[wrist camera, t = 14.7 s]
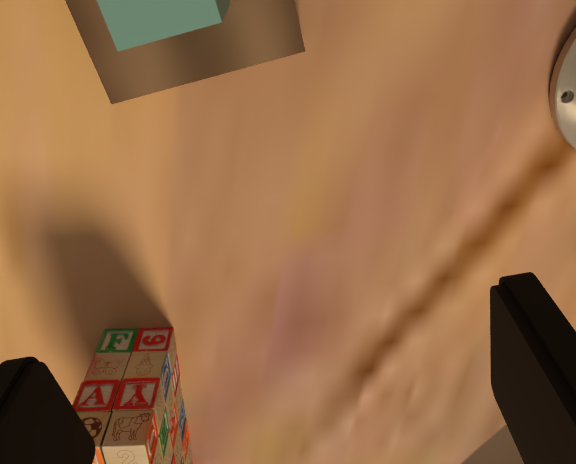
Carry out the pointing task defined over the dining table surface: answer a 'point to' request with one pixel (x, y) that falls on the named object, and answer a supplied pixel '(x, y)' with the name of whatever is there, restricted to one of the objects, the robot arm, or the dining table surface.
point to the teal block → (158, 18)
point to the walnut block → (189, 47)
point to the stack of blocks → (135, 399)
